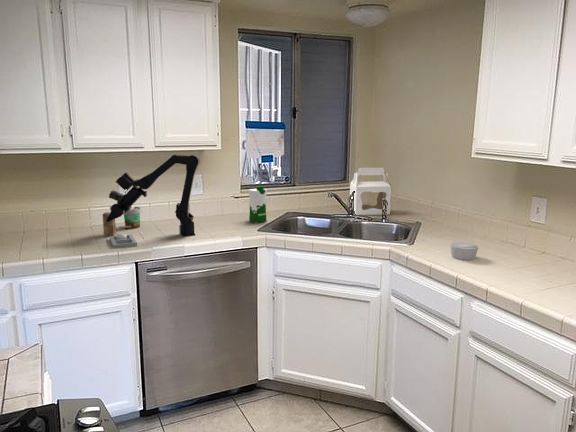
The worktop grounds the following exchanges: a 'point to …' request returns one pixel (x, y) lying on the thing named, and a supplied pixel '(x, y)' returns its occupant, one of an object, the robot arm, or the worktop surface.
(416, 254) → the worktop surface
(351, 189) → the gable box
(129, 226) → the food container
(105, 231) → the walnut block
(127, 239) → the grey divided frame
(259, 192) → the milk carton
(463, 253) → the ramekin
